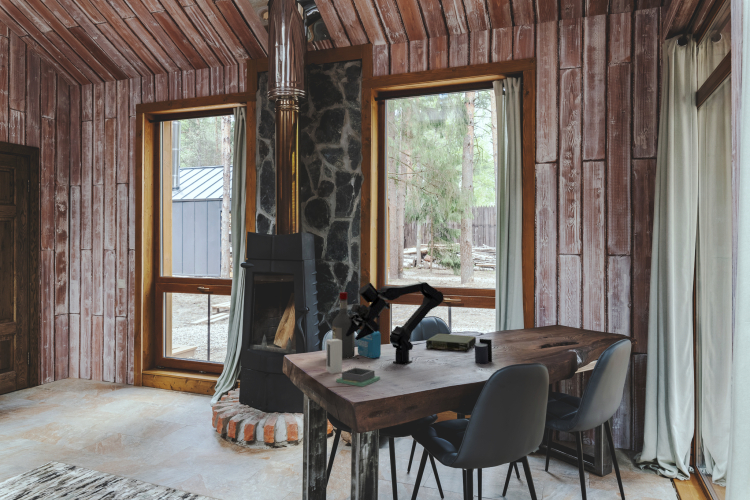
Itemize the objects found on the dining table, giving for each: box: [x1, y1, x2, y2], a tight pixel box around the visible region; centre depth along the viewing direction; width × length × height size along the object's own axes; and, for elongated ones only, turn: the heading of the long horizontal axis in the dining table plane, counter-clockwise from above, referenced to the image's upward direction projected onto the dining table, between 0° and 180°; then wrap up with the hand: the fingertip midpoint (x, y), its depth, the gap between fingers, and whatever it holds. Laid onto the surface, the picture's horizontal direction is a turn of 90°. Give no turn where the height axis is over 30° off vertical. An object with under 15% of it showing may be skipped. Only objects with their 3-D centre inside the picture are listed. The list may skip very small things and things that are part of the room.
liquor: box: [331, 291, 356, 360], centre depth 229 cm, size 9×9×30 cm
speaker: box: [473, 338, 493, 365], centre depth 218 cm, size 8×6×10 cm
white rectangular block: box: [325, 338, 343, 375], centre depth 201 cm, size 5×5×13 cm
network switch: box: [425, 333, 477, 353], centre depth 253 cm, size 23×23×5 cm
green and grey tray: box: [336, 367, 381, 387], centre depth 187 cm, size 12×12×4 cm
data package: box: [357, 329, 382, 359], centre depth 231 cm, size 12×4×12 cm, turn 40°
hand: (351, 337), depth 205 cm, fingers open, 9 cm apart
